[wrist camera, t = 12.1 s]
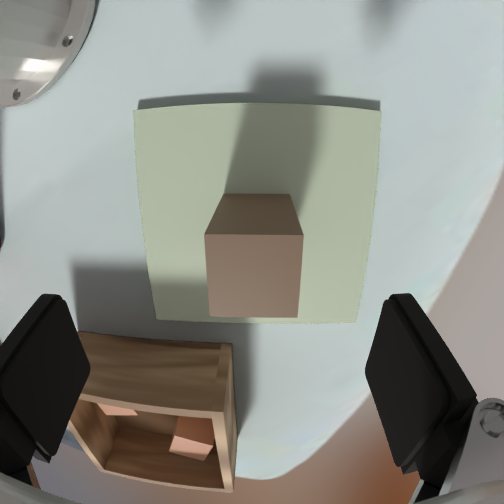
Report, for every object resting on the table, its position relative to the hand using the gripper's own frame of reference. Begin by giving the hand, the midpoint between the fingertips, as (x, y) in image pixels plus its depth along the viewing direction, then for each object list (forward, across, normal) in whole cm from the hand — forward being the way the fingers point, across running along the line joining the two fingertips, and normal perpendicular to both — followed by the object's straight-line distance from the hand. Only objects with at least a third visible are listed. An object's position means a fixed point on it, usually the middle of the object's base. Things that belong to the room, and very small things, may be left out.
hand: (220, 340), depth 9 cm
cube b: (+11, +5, +21) cm, 25 cm away
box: (+12, +8, +18) cm, 23 cm away
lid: (+13, -1, +1) cm, 13 cm away
